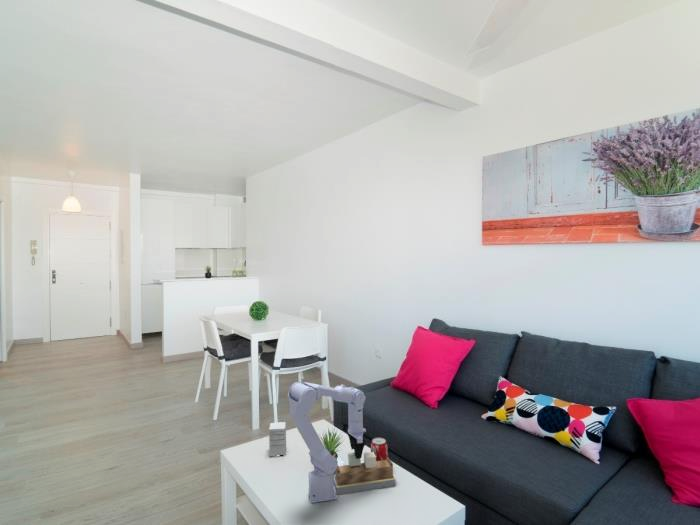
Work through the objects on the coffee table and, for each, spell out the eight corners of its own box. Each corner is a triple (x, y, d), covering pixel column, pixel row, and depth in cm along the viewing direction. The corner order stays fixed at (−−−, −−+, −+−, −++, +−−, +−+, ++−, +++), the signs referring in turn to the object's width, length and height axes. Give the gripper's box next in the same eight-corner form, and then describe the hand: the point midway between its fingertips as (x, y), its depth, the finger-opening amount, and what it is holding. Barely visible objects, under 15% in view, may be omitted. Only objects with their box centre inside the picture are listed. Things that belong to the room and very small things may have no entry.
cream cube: (366, 468, 147) (365, 457, 147) (363, 463, 151) (363, 452, 151) (376, 467, 147) (375, 456, 147) (373, 461, 151) (373, 451, 151)
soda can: (387, 474, 155) (386, 445, 155) (369, 473, 156) (369, 443, 156) (388, 465, 162) (388, 437, 162) (372, 464, 163) (371, 436, 163)
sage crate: (350, 466, 147) (350, 455, 148) (348, 464, 150) (347, 453, 152) (360, 465, 148) (359, 453, 149) (358, 462, 151) (357, 451, 152)
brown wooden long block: (337, 485, 143) (337, 471, 143) (335, 478, 148) (335, 464, 148) (393, 477, 148) (392, 463, 148) (389, 470, 153) (388, 457, 153)
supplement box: (270, 449, 178) (270, 422, 178) (286, 448, 179) (286, 421, 179) (269, 457, 170) (268, 429, 170) (285, 456, 171) (285, 428, 171)
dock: (336, 494, 142) (336, 487, 142) (333, 482, 150) (333, 476, 150) (395, 486, 147) (395, 479, 147) (388, 474, 154) (388, 468, 154)
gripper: (370, 425, 145) (370, 461, 145) (360, 411, 160) (361, 443, 160) (352, 427, 144) (352, 463, 144) (344, 413, 158) (345, 445, 158)
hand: (356, 453), depth 152 cm, fingers open, 7 cm apart
